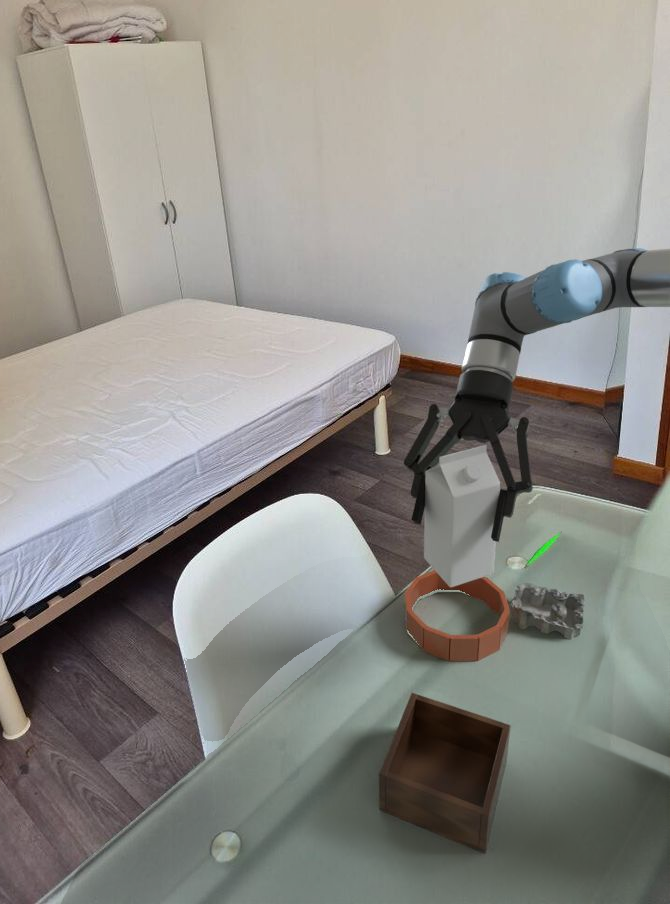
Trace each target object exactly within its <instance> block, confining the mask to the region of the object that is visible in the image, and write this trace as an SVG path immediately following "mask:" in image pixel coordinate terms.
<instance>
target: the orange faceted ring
mask: <svg viewBox="0 0 670 904" xmlns="http://www.w3.org/2000/svg"><path fill="white" fill-rule="evenodd" d="M437 589H438V590H439V589H441V590H443V589H444V590H460V591H462V592H465V593H466V594H469V595H470V596H469V597H471V596H472V597H471V598H474V599H477V600H480V601H482V602H483V603H484V604H485V605H486V606H487V607H488V608H489V609H490V610H492V611H493V612H494V613H495V614H496V615H497V617H498V622H497V624H496V625H494V626H492V627H490V628H488V629H486V630H484V631H482V632H479V633H478V634H450V633H447V632H444V631H442V630H440V629H436V628H434V627H431V626H428V625H426V623H425V622H424V621H423V620H422V619H421V618H420V617H419V616H418V615H417V614H416V613H415V612H414V610H412V607H413V605H414V604H415V602H416V601H417V599H418V598H419V597H420V596H423V595H425V594H428V593H430V592H432V591H435V590H437ZM404 614H405V615H404V619H405V618H406V623H405V628H406V627H407V630H408V631H409V633H410V634H411V635H412V636H413V638H414V639H415V641H417V643H418V644H419V646H420V647H421V648H422V649H424V650H423V652H425V653H427V654H430V655H432V656H435V657H437V658H440V659H441V660H444V661H447V662H448V661H449V662H479V661H480V660H483V659H485V658H487V657H489V656H491V655H493V654H495V653H497V652H498V651H500V650H501V648H502V645H503V644H504V641H505V640H506V638H507V636H508V633H509V624H510V614H511V609H510V605H509V603H508V600H507V597H506V593H505V591H504V590H503V589H502V588H500V587H499V586H498V585H497V584H496V583H494V582H493V581H492V580H491V579H489V577H488V576H485V577H482V578H478V579H475V580H472V581H469V582H466V583H463V584H460V585H457V586H454V587H449V586H448V585H447V583H446V582H445V581H444V580H443V579H442V578H441V577H440V576H439V574H438V573H437V572H436V571H435V570H434V569H433V570H430V571H428V572H426V573H423V574H420V575H419V576H416V577H415V578H414V579H413V580H412V582H411V584H410V585H409V586H408V587H407V589H406V590H405V592H404ZM415 641H414V642H415ZM419 646H418V647H419ZM420 647H419V648H420ZM421 648H420V649H421ZM422 649H421V650H422Z"/></svg>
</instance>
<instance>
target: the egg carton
mask: <svg viewBox="0 0 670 904" xmlns="http://www.w3.org/2000/svg"><path fill="white" fill-rule="evenodd" d="M510 606H512V607H511V609H512V613H511V622H513V623H516V625H517V627H518V628H520V629H523V630H524V629H527V628H528V627H536V628H537V629H539V631H540V632H541V633H542V634H550V633H551V632H559V633H560V634H562V635H563V638H565V639H568V640H572V639H573V638H574V637H577V636H580V635H581V631H582V629H583V626H584V615H585V594H583V593H567V592H566V591H562V592H561V590H560V589H558V588H549V587H546V586H545V587H543V586H539V585H537V584H535V583H532V582H523V583H521V584H518V585H516V586H515V590H514V593H513V598H512V601H511V604H510Z"/></svg>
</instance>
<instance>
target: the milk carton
mask: <svg viewBox="0 0 670 904" xmlns="http://www.w3.org/2000/svg"><path fill="white" fill-rule="evenodd" d="M487 448H488V445H487V444H483V445H480V446H476V447H471V448H468V449H464V450H460V451H457V452H453V453H449V454H446V455H445V456H441V457H439V462H438V464H436V466H435V467H433V468H431V469H429V470H427V471H425V472H426V474H425V508H424V525H423V526H424V528H423V530H424V531H423V559H424V560H425V561H426V562H427V563H428V565H430V567H431V568H432V569H433V570H435V571H436V572H437V573H438V574H439V576H440V577H441V578H442V579H443V580H444V581H445V582H446V583H447V585H448V586H449V587H454V586H457V585H460V584H463V583H466V582H469V581H472V580H475V579H478V578H482V577H485V578H486V577H488V576H490V575H493V574H494V571H495V558H496V548H497V547H496V546H497V545H496V544H497V541H493V540H492V538H491V534H492V529H493V524H494V519H495V514H496V509H497V504H498V499H499V494H500V489H501V480H500V479H499V477H498V475H497V472H496V470H495V467H494V465H493V463H492V462H491V459H490V457H489V455H488V452H487Z"/></svg>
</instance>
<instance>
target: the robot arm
mask: <svg viewBox="0 0 670 904" xmlns="http://www.w3.org/2000/svg"><path fill="white" fill-rule="evenodd" d="M618 308H670V248H662V249H645V248H641V247H635V248H625V249H619V250H615V251H613V252H611V253H608V254H605V255H599V256H597V257H593V258H588V259H584V260H579V259H576V258H575V259H568V260H565V261H561V262H558V263H555V264H551V265H549V266H546V267H545V269H543V270H539V272H536V273H534V274H531V275H530V276H527V277H525V276H524V275H521V274H518V273H515V272H510V271H503V272H502V273H498V272H495V273H492V274H489V275H487V276H486V277H485V278H484V279H483V280H482V281H481V284H480V288H479V292H478V295H477V297H476V299H475V301H474V311H473V315H472V319H471V325H470V328H469V333H468V339H467V343H466V348H465V352H464V357H463V360H462V364H461V368H460V369H461V372H462V373H461V374H460V375H459V378H458V383H457V387H456V391H455V396H454V401H453V403H452V404H451V405H450V407H443V406H438V405H437V404H435V403H432V404H430V406H429V409H428V414H427V419H426V421H425V422H424V424H423V426H422V428H421V430H420V432H419V433H418V435H417V437H416V438H415V440H414V442H413V444H412V446H411V447H410V449H409V451H408V453H407V455H406V456H405V458H404V460H403V465H404V466H405V467H406V469H407V470H408V471H410V472H412V473H413V480H412V484H411V487H410V496H411V497H412V498H413V499H415V502H414V507H413V510H412V515H411V520H410V521H412V522H413V523H414V524H417V525H422V521H423V517H424V513H425V474H426V472H425V471H427V470H429V469H431V468H433V467H435V466H437V465H438V464H439V457H441V456H445V455H448V453H449V452H450V451H451V450H452V448H454V446H455V445H457V444H458V443H459V442H460V441H461V440H464V441H476V442H478V443H482V444H487V443H489V444H490V445H491V448H492V450H493V454H494V456H495V459H496V461H497V464H498V467H499V469H500V472H501V475H502V477H503V480H504V484H505V486H506V489H504V488H500V494H499V499H498V504H497V509H496V514H495V519H494V524H493V529H492V534H491V538H492V540H493V541H496V543H499V542H500V539H501V533H502V528H503V524H504V519H505V518H509V519H511V518H512V517H513V515H514V510H515V505H516V501H517V497H518V495H520V494H523V493H527V494H529V493H531V492H533V490H534V489H533V479H532V478H533V477H532V472H531V462H530V455H529V447H528V446H529V445H528V436H529V433H530V430H531V429H530V428H531V423H530V420H529V418H528V417H526V416H523V417H521V418H519V417H518V418H517V417H513V416H510V412H509V411H510V407H511V401H512V396H513V391H514V383H513V382H514V381H515V380H516V376H517V370H518V366H519V361H520V355H521V351H522V345H523V342H524V337H525V336H528V335H532V334H536V333H537V332H540V331H543V330H547V329H550V328H554V327H557V326H560V325H564V324H568V323H572V322H574V321H578V320H580V319H583V318H586V317H589V316H592V315H596V314H600V313H603V312H606V311H610V310H613V309H618ZM447 417H449V418H450V420H451V423H452V424H451V426H450V427H449V428H448V429H447V430H446V432H445V434H444V435H443V436H442V437H441V439H440V440H439V441H438V442H437V443H436V444H435V445H433V447H432V448H431V449H430V451H429V452H428V453H427V454H425V456H424V453H425V452H426V450H427V448H428V447H429V445H430V443H431V441H432V439H433V438H434V435H435V434H436V432H437V431H438V428H439V425H440V423H441V424H442V423H443V422H444V421H445V419H446V418H447ZM508 427H511V430H512V433H513V434H514V435H516V445H517V452H518V461H519V462H518V463H519V470H520V481H515V480H516V479H515V478H514V475H513V473H512V472H513V471H512V470H511V467H510V465H509V462H508V459H507V457H506V454H505V451H504V449H503V446H502V444H501V441H500V438H499V435H500V434H501V433H502V432H503V431H504V430H506V429H507V428H508ZM423 456H424V457H423Z"/></svg>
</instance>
